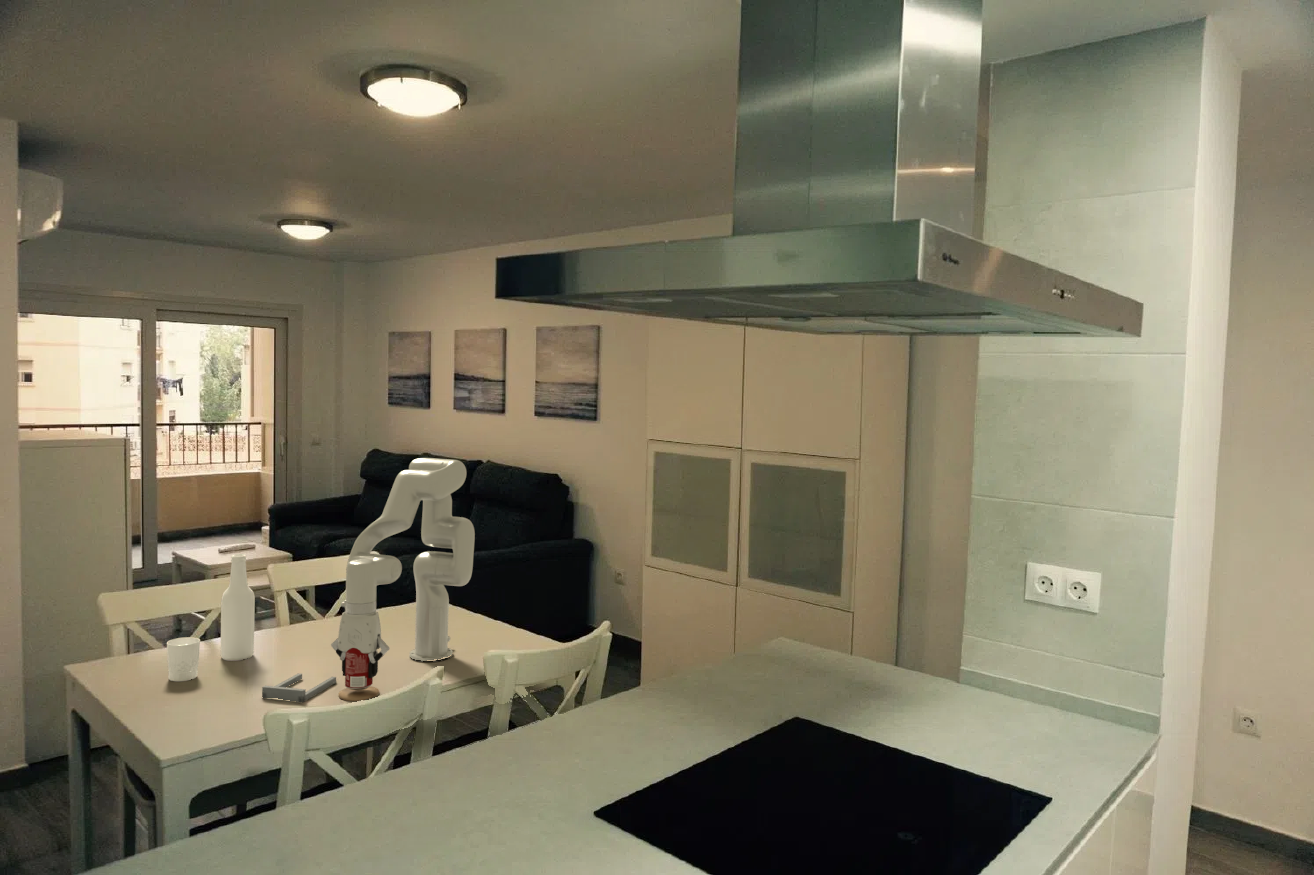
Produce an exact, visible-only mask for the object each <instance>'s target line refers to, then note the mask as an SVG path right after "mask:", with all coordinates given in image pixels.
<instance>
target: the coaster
mask: <svg viewBox="0 0 1314 875" xmlns="http://www.w3.org/2000/svg"><path fill="white" fill-rule="evenodd" d="M379 694H380V689H379V688H377V687H375V686H372V685H371V686H370V687H368V688H367V689H364V690H351V689H349V688H347V687H346V688H343V689H342V690H340V691H339V692H338V694H337V695H338V696H337V697H338V698H339V699H340V700H343V701H347V702H360V701H359V700H363V701H367V700H366V699H369V698H372V699H374V698H377V697H378V695H379ZM373 697H374V698H373ZM369 700H370V699H369Z"/></svg>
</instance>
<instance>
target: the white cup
mask: <svg viewBox="0 0 1314 875" xmlns="http://www.w3.org/2000/svg"><path fill="white" fill-rule="evenodd" d="M200 646H201V639H200V638H197V637H191V636H188V637H187V636H185V637H178V638H173V639H170V640H168V641H167V642H166V656H167V660H166V662H167V670H168V672H167V673H168V680H169V681H171V682H187V681H191V679H192V680H194V679H196V678H197V677H198V670H199V663H200V662H199V659H200Z"/></svg>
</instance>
